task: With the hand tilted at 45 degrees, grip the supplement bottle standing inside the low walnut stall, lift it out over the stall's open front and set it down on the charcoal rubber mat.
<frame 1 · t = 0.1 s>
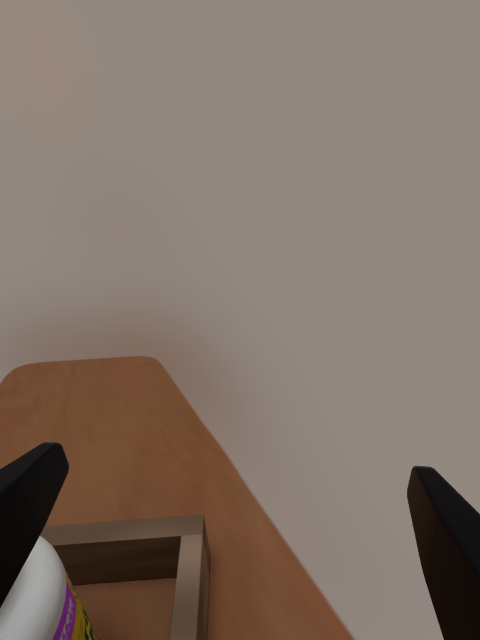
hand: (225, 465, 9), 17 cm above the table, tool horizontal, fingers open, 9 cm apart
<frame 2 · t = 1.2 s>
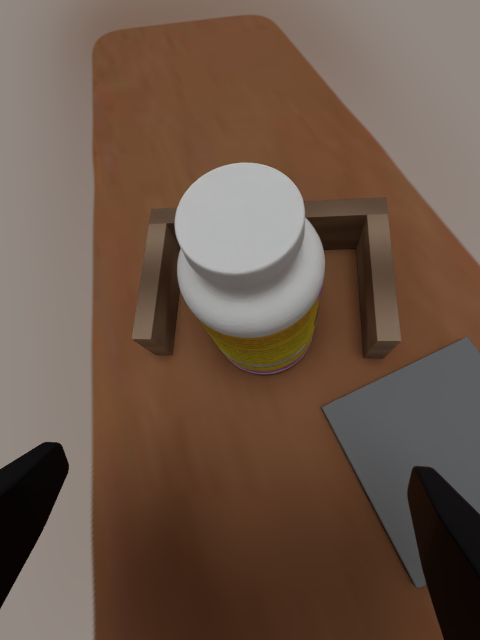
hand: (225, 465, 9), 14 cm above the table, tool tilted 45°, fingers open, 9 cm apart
charcoal mat: (441, 450, 20), on the table
walnut stall: (264, 328, 24), on the table
supplement bottle: (265, 329, 25), on the table
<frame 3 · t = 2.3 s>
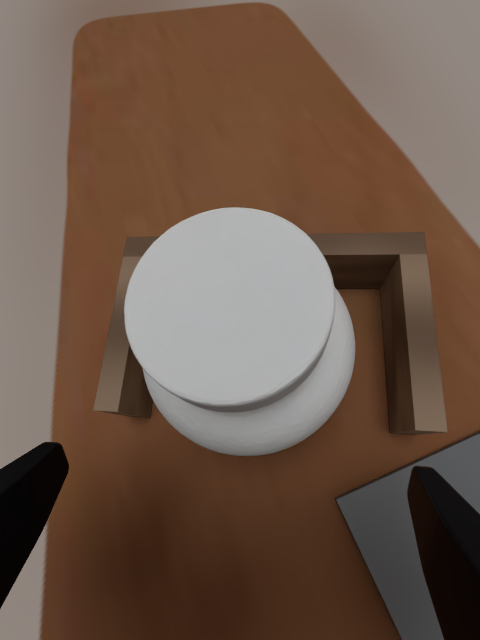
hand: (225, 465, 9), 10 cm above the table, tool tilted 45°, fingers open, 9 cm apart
walnut stall: (265, 387, 20), on the table
supplement bottle: (265, 388, 20), on the table
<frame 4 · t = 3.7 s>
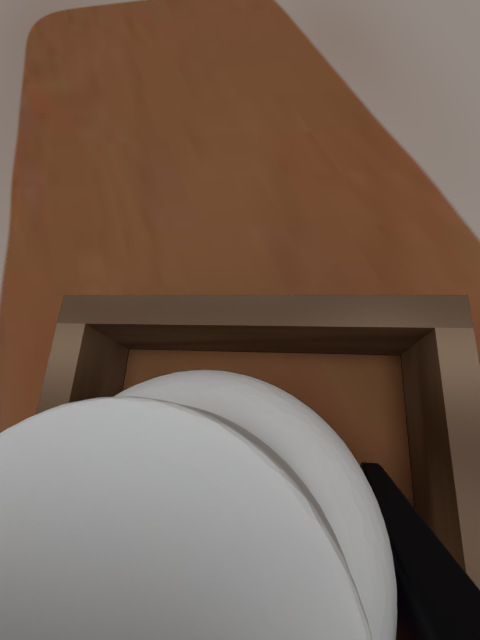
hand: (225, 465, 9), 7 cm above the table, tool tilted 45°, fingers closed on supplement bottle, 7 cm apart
walnut stall: (251, 492, 15), on the table
supplement bottle: (251, 491, 15), on the table, touching gripper
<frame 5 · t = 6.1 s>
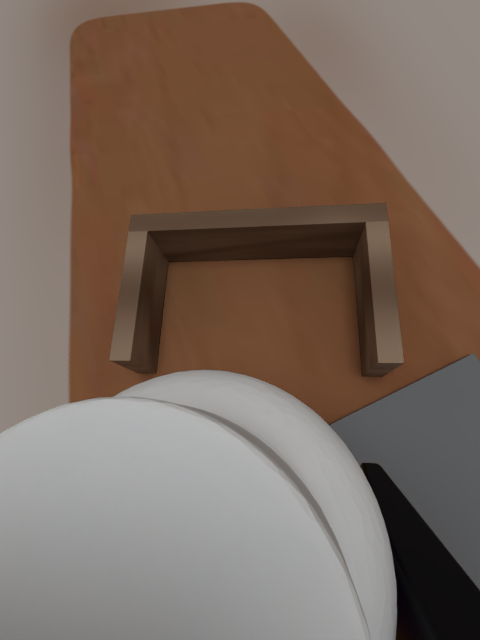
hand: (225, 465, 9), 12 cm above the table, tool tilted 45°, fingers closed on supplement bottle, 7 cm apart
charcoal mat: (446, 478, 19), on the table
walnut stall: (255, 343, 23), on the table
supplement bottle: (252, 491, 15), point 5 cm above the table, touching gripper
when the fingers open (8 cm above the table, at t = 8.5 s): supplement bottle stays where it is, resting on charcoal mat.
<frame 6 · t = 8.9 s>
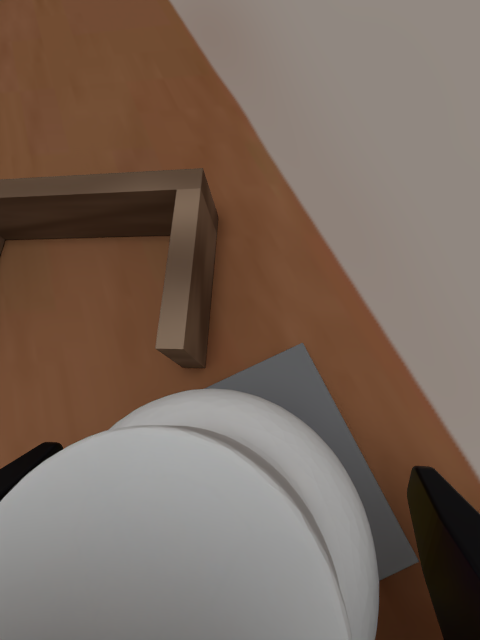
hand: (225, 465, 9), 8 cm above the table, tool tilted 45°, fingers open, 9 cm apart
charcoal mat: (254, 486, 16), on the table
walnut stall: (77, 329, 20), on the table
supplement bottle: (252, 493, 16), resting on charcoal mat
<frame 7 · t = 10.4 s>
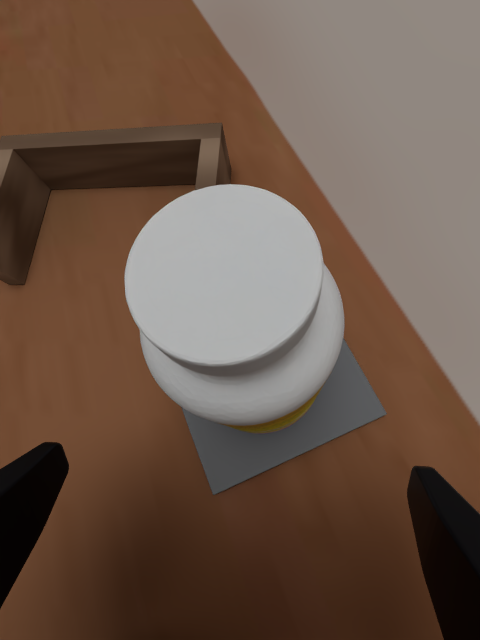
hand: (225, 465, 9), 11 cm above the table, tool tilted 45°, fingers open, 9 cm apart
charcoal mat: (261, 369, 21), on the table
walnut stall: (115, 258, 24), on the table
supplement bottle: (260, 373, 20), resting on charcoal mat
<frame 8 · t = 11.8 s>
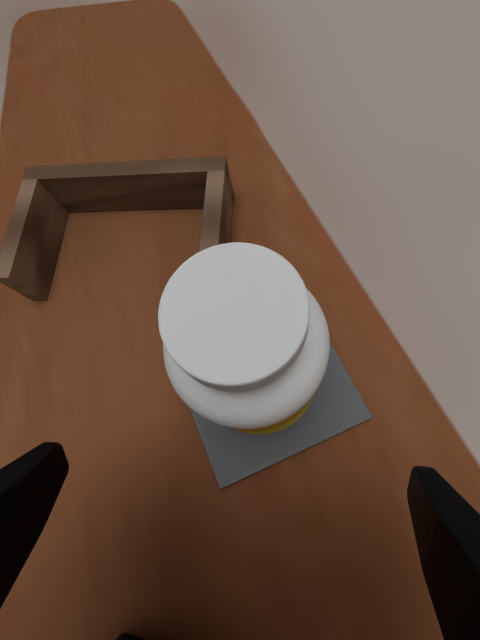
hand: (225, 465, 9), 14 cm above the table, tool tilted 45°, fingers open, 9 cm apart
charcoal mat: (261, 378, 23), on the table
walnut stall: (129, 276, 27), on the table
supplement bottle: (261, 381, 23), resting on charcoal mat
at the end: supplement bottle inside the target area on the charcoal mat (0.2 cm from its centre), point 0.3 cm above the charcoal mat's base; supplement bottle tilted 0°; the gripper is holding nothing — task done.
